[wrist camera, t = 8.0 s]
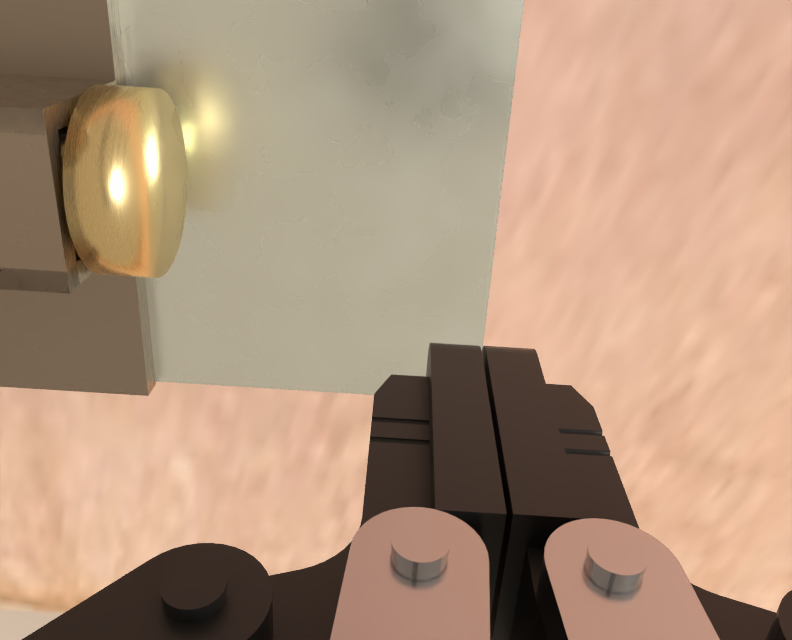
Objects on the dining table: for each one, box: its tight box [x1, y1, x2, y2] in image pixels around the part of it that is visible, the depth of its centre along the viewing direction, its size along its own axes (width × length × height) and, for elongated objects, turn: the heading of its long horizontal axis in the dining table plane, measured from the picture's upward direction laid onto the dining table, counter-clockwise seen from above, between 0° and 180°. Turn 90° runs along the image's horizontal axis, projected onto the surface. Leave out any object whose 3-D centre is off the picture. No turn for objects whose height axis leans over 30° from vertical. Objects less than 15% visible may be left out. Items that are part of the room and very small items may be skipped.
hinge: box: [0, 0, 524, 396], centre depth 21 cm, size 16×25×7 cm, turn 87°
